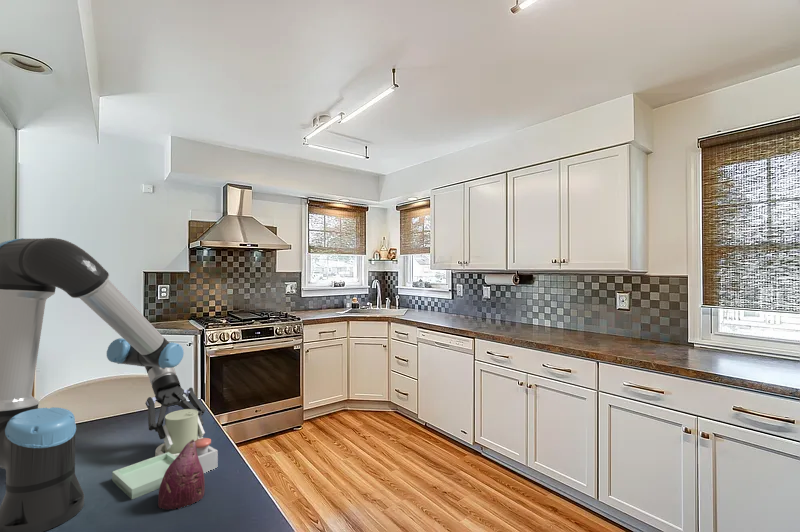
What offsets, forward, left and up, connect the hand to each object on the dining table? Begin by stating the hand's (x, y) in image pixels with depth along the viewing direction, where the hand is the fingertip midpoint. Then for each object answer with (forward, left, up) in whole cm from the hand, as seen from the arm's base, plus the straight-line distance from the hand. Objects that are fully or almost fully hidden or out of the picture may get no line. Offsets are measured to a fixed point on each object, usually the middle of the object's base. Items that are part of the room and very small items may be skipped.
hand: (186, 441), depth 119 cm
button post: (-2, -13, -4) cm, 13 cm away
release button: (-2, -13, -2) cm, 13 cm away
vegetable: (-11, -23, -4) cm, 26 cm away
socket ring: (0, +3, -4) cm, 5 cm away
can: (0, +3, -4) cm, 5 cm away
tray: (-12, -7, -4) cm, 14 cm away
